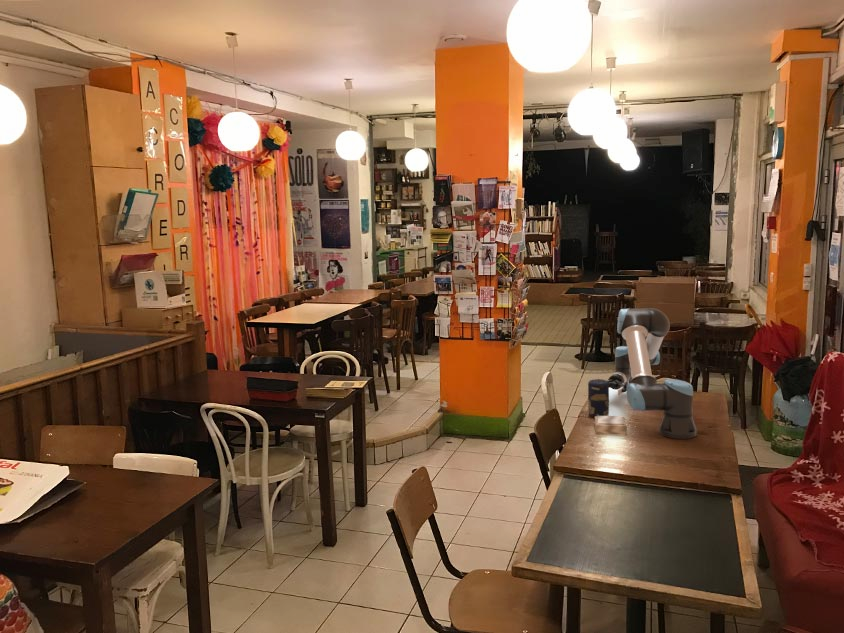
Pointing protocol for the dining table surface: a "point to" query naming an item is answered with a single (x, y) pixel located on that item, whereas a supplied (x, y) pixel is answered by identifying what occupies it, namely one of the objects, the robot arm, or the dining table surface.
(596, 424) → the stand
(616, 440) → the dining table surface
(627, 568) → the dining table surface
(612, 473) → the dining table surface
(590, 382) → the canister
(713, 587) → the dining table surface
